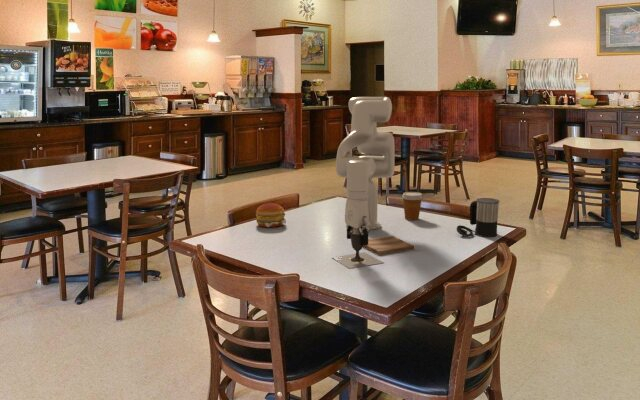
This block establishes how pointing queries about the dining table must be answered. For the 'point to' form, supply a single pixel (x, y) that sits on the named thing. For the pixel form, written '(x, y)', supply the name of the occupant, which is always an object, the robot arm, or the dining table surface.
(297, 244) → the dining table surface
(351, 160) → the robot arm
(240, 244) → the dining table surface
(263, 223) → the burger
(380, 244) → the board
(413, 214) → the disposable coffee cup
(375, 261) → the card
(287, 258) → the dining table surface
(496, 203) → the milk frother
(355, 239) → the sundae
